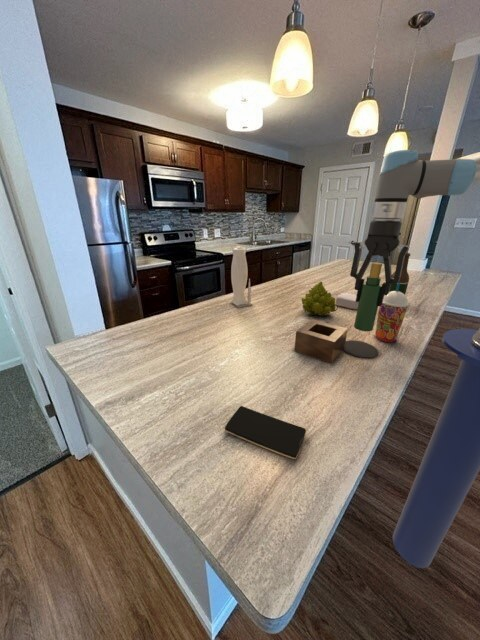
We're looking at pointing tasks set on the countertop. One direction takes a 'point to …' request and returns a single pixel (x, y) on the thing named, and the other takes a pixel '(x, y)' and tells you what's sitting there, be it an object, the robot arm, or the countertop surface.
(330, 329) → the holder
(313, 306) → the vegetable
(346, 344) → the coaster
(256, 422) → the smartphone
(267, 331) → the countertop surface
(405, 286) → the beer bottle
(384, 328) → the smoothie
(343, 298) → the charger
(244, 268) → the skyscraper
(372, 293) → the bottle
